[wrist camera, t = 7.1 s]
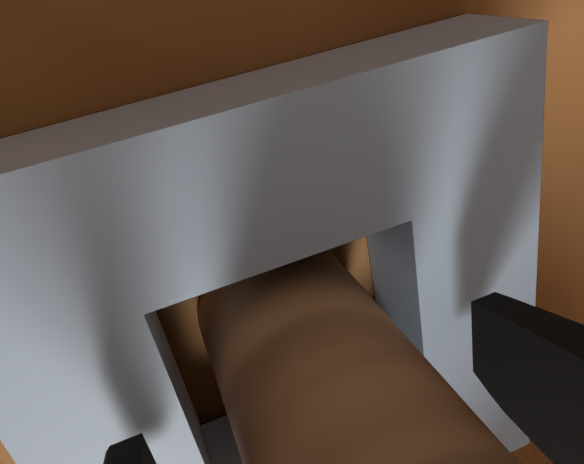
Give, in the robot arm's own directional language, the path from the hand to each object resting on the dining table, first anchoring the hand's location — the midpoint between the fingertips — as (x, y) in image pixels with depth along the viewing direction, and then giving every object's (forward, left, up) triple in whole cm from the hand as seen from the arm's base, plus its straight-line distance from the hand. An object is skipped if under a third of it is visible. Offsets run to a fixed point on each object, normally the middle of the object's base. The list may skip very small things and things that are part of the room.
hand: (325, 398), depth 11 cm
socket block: (0, 0, -3) cm, 3 cm away
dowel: (0, 0, -3) cm, 3 cm away
